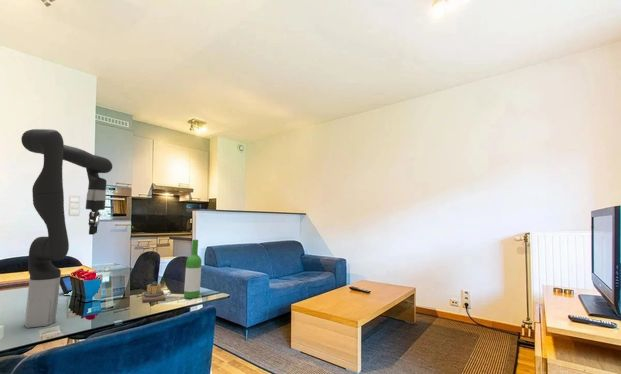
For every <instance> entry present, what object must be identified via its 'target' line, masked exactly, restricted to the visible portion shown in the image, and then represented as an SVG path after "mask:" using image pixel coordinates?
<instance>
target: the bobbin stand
mask: <svg viewBox="0 0 621 374" xmlns="http://www.w3.org/2000/svg"><path fill="white" fill-rule="evenodd" d="M151 284H152V286H156V284H158V283H157V281H152V282H151ZM141 300H142V304H145V303H155V302H165V301H166V296H165V292H164V290H161V291H160V293H159V294H152V295H150V294H147V291H142V292H141Z"/></svg>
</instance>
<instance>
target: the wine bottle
mask: <svg viewBox="0 0 621 374" xmlns="http://www.w3.org/2000/svg"><path fill="white" fill-rule="evenodd" d="M198 248H199V240H198V239H192V243H191V254H190V255H189V256H188V257H187V259H186V263H185V276H184V287H183V288H184V291H183V297H184V298H186V299H195V298H194V297H197V298H199V296H200V295H201V294H200V293H201V291H200V290H201V278H202V277H201V276H202V275H201V274H202V258H201V257H200V255H198V250H199V249H198Z"/></svg>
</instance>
